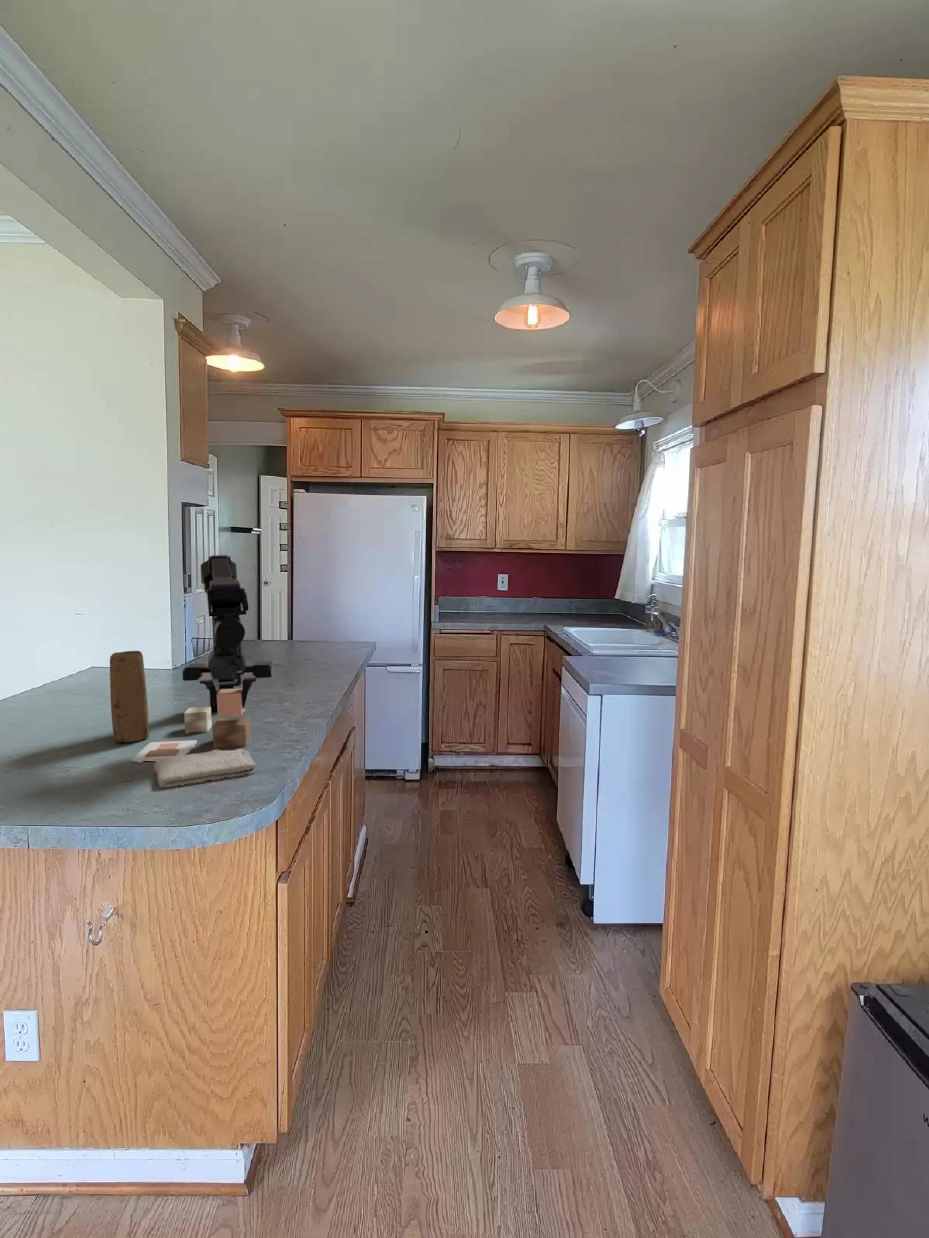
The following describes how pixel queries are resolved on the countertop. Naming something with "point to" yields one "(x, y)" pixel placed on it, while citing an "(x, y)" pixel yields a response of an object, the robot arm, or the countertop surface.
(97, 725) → the countertop surface
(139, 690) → the block
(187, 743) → the card
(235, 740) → the walnut block
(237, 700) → the terracotta cube
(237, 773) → the washcloth
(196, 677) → the robot arm
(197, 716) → the ash cube
